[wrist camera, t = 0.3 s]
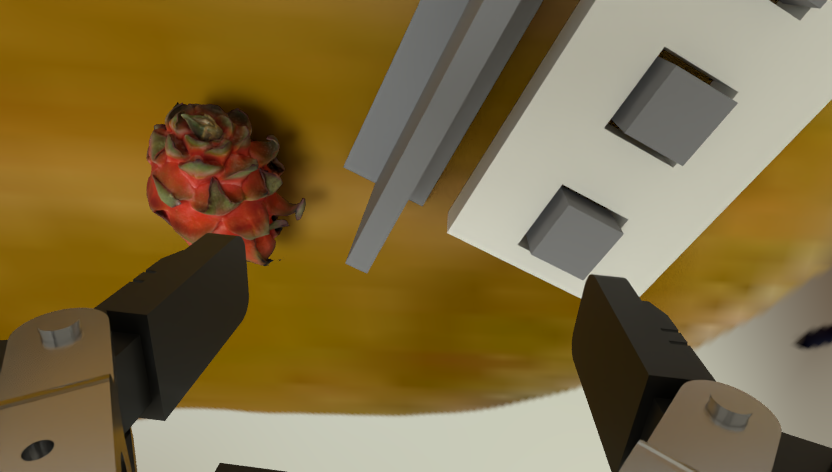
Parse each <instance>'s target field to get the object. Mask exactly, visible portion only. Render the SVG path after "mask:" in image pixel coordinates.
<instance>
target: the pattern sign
mask: <svg viewBox="0 0 832 472" xmlns="http://www.w3.org/2000/svg"><path fill="white" fill-rule="evenodd" d="M542 1H543V0H421V1H420V3H419V5H418V7H417V9H416V11H415V14H414V16H413V18H412V20H411V22H410V24H409V27H408V29H407V31H406V33H405V35H404V37H403V40H402V42H401V44H400V46H399V48H398V50H397V52H396V55H395V57H394V59H393V61H392V63H391V65H390V68H389V70H388V72H387V74H386V76H385V78H384V81H383V83H382V85H381V87H380V89H379V91H378V93H377V96H376V98H375V100H374V102H373V104H372V106H371V109H370V111H369V113H368V115H367V117H366V119H365V122H364V124H363V126H362V128H361V130H360V132H359V134H358V137H357V139H356V141H355V143H354V145H353V147H352V150H351V152H350V154H349V156H348V158H347V160H346V163H345V165H344V168H346V169H348V170H350V171H352V172H354V173H356V174H358V175H360V176H362V177H364V178H366V179H368V180H370V181H372V182H375V186H374V189H373V191H372V194H371V197H370V199H369V202H368V204H367V207H366V210H365V212H364V215H363V218H362V220H361V223H360V226H359V228H358V231H357V234H356V236H355V239H354V241H353V244H352V247H351V249H350V252H349V255H348V257H347V260H346V264H348V265H350V266H352V267H354V268H356V269H359V270H361V271H363V272H365V273H367V272H368V271H369V269H370V267H371V265H372V263H373V262H374V260H375V258H376V256H377V255H378V253H379V251H380V249H381V247H382V246H383V244H384V242H385V240H386V239H387V237H388V235H389V233H390V231H391V230H392V228H393V226H394V224H395V223H396V221H397V219H398V217H399V216H400V214H401V212H402V210H403V208H404V207H405V205H406V203H407V201H408V200H411V201H413V202H415V203H417V204H419V205H421V206H423V204H424V203H425V201H426V199H427V198H428V196H429V194H430V193H431V191H432V189H433V187H434V186H435V184H436V182H437V181H438V179H439V177H440V175H441V174H442V172H443V170H444V169H445V167H446V165H447V164H448V162H449V160H450V158H451V157H452V155H453V153H454V152H455V150H456V148H457V146H458V145H459V143H460V141H461V140H462V138H463V136H464V135H465V133H466V131H467V129H468V128H469V126H470V124H471V123H472V121H473V119H474V117H475V116H476V114H477V112H478V111H479V109H480V107H481V106H482V104H483V102H484V100H485V99H486V97H487V95H488V94H489V92H490V90H491V88H492V87H493V85H494V83H495V82H496V80H497V78H498V77H499V75H500V73H501V71H502V70H503V68H504V66H505V65H506V63H507V61H508V59H509V58H510V56H511V54H512V53H513V51H514V49H515V48H516V46H517V44H518V42H519V41H520V39H521V37H522V36H523V34H524V32H525V30H526V29H527V27H528V25H529V24H530V22H531V20H532V19H533V17H534V15H535V13H536V12H537V10H538V8H539V7H540V5H541V3H542Z"/></svg>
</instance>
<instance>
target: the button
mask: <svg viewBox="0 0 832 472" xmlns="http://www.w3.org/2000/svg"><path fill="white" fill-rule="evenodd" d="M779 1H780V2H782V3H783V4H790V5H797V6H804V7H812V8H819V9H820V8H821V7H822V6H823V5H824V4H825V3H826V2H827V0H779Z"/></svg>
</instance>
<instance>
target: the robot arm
mask: <svg viewBox="0 0 832 472" xmlns="http://www.w3.org/2000/svg"><path fill="white" fill-rule="evenodd" d="M248 300H249V292H248V278H247V264H246V249H245V243H244V240H243V238H242V237H240V236H234V235H225V234H215V233H206V234H205V235H203V236H202V237H201V238H200V239H198V240H197V241H196V242H194V243H193V244H192V245H190V246H189V247H188V248H187V249H185V250H182V251H180V252H177V253H175V254H172V255H170V256H167V257H165V258H162V259H160V260H159V261H158V262H156V263H155V264H153V265H152V266H151V267H149V268H148V269H147V270H146V273H145V272H143V273H141V274H140V275H139V276H137V277H136V278H134V279H133V282H129V283H128V284H126V285H125V286H124V287H122V288H121V289H120V290H118V291H117V292H116V293H114V294H113V295H111V296H110V297H109V298H107V299H106V300H105V301H103V302H102V303H101V304H99V305H98V306H97V307H95V308H94V309H92V308H71V309H64V310H59V311H54V312H51V313H47V314H44V315H41V316H39V317H36V318H34V319H32V320H30V321H28V322H26V323H24V324H23V325H21V326H20V327H18V328H17V329H16V330H15V331H14V332H13V333H12V334H11V335H10V337H9V339H8V340H0V472H137V465H136V456H135V448H134V440H133V434H132V430H131V426H132V425H133V423H135V421H136V420H137V419H138V418H146V419H154V420H162V421H165V420H166V419H167V417H168V416H169V415H170V414H171V412H172V411H173V410H174V408H175V407H176V406H177V405H178V403H179V402H180V401H181V399H182V398H183V397H184V395H185V394H186V393H187V392H188V390H189V389H190V388H191V386H192V385H193V384H194V383H195V381H196V380H197V379H198V377H199V376H200V375H201V374H202V372H203V371H204V370H205V368H206V367H207V366H208V364H209V363H210V362H211V361H212V359H213V358H214V357H215V355H216V354H217V353H218V352H219V350H220V349H221V348H222V346H223V345H224V344H225V343H226V341H227V340H228V339H229V337H230V336H231V335H232V333H233V332H234V331H235V330H236V328H237V327H238V326H239V324H240V323H241V322H242V320H243V319H244V316H245V314H246V311H247V307H248ZM572 356H573V360H574V363H575V366H576V369H577V372H578V375H579V378H580V381H581V384H582V387H583V390H584V393H585V395H586V398H587V401H588V404H589V407H590V410H591V413H592V416H593V419H594V422H595V425H596V428H597V430H598V434H599V436H600V439H601V442H602V445H603V448H604V451H605V454H606V457H607V460H608V463H609V466H610V469H611V471H612V472H832V448H829V447H826V446H823V445H820V444H817V443H814V442H810V441H807V440H804V439H801V438H798V437H795V436H791V435H789V434H786V433H783V432H781V431H782V430H781V426H780V423H779V421H778V419H777V418H776V417H775V415H774V414H773V413H772V412H771V411H770V410H769V409H768V408H767V407H766V406H765V405H763V404H762V403H761V402H760V401H758V400H756V399H755V398H754V397H752V396H750V395H749V394H747V393H745V392H743V391H741V390H739V389H736V388H734V387H731V386H729V385H726V384H723V383H719V382H716V381H715V379H714V378H713V377H712V375H711V374H710V373H709V372H708V370H707V369H706V367H705V366H704V364H703V363H702V362H701V360H700V359H699V358H698V356H697V355H696V354H695V352H694V351H693V349H692V348H691V347H690V346H687V341H686V340H685V339H684V337H683V336H682V334H681V333H678V329H677V328H676V326H675V325H674V324H673V322H672V321H671V320H670V318H669V317H668V315H666V314H665V313H664V312H662V311H661V310H659V309H658V308H657V307H655V306H654V305H652V304H651V303H650V302H647V301H641V299H640V298H639V296H638V295H637V293H636V292H635V290H634V289H633V287H632V286H631V284H630V283H629V281H628V280H627V279H626V278H623V277H614V276H604V275H595V274H590V275H589V276H588V278H587V280H586V282H585V286H584V290H583V294H582V298H581V302H580V307H579V311H578V315H577V319H576V323H575V327H574V332H573V337H572ZM215 472H285V471H277V470H270V469H262V468H255V467H247V466H239V465H232V464H224V463H220V464H219V465H218V467H217V469H216V471H215Z"/></svg>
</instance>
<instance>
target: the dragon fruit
mask: <svg viewBox="0 0 832 472" xmlns="http://www.w3.org/2000/svg"><path fill="white" fill-rule="evenodd" d="M251 133H252V126H251V123H250V120H249V117H248V115H247V114H246V113H244V112H243V111H242V110H240V109H239V108H236V109H234V110H232V111H231V112H229V113H225V112H224V111H223V110H222V109H221V108H220V107H219V106H218V105H212V104H207V105H200V104H188V105H185V104H183V103H181V104H179V103H178V102H177V104H176V105H175V106H174V108H173V109H172V110H171V111H170V112H169V113H168V115H167V116H166V119H165V125H164V124H157V125H155V126H154V130H153V133H152V134H151V137H150V140H149V148H148V151H147V160H148V162H149V163H150V164H151V166H152V171H151V176H150V177H149V179H148V182H147V198H148V202H149V206H150V209H151V210H152V211H153V213H155V214H157V215H159V216H160V217H162V218H163V219H164V220H165V221H166V222H167V223H168V224H169V225H171V226H172V227H173V228H174V230H175V231H176V232H177V233H178V234H179V235H180V236H181V237H182V238H183V239H184V240H185V241H186V242H187V243H188V244H189V245H192V244H193V243H194V242H196V241H197V240H198V239H200V238H201V237H202V236H203V235H205V234H206V233H215V234H225V235H234V236H240V237H242V238H243V240H244V243H245V249H246V261H248V262H252V263H255V264H260V265H263V266H267V265H268V264H269V263H270V262H272V261H273V260H271V259H268V257H269V256H270V255H271V254H272V252H273V251H274V249H275V244H276V242H275V240H274V238H275V237H277V236H278V235H279V234H280V232H281V230H282V227H285V226H289V225H288V222H287V221H286V220H276V219H277V218H278V216H288V215H291V214H293V213H295V212H296V215H295V216H296V219H297V220H299V219H300V218H301V217H302V214H303V212H304V210H305V205H306V202H305V199H304V198H303V199H302V201H301V202H300V203H298V204H292V203H289V202H288V201H286V200H285V199H284V198H282V197H281V196H280V195H278V194H277V193H276V191H277V190H278V188H279V187H280V186H281V185H282V184H283V182H282V180H281V178H280V177H279V176H281V175H282V174H283V172H284V171H285V168H284V166H283V164H282V163H280V162H279V161H278V159H277V158H276V156H277V154H278V152H279V143H278V140H277V138H276V137H275V136H274V135H268V137H267V138H266V139H267V140H271V141H269V142H260V141H253V140H252V139H250V136H251ZM269 162H271V165H272V166H267V164H268V163H269ZM279 261H280V260H279Z"/></svg>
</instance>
